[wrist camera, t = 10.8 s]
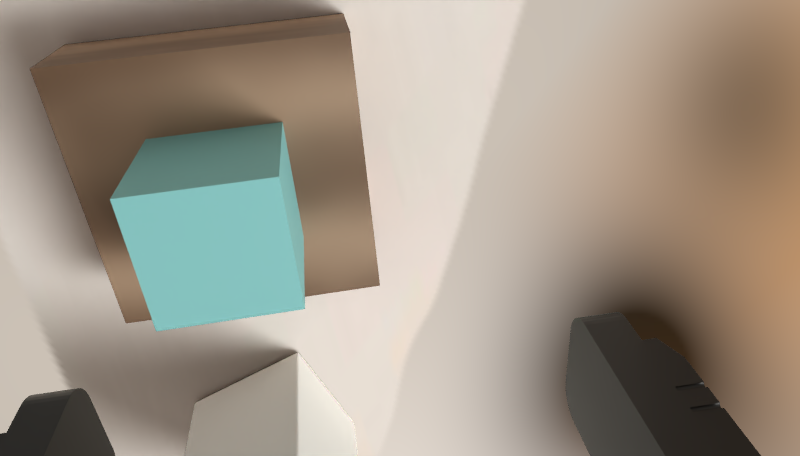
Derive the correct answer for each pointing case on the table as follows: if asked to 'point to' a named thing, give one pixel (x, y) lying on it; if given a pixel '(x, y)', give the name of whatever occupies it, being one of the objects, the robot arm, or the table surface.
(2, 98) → the table surface
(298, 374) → the milk carton
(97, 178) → the walnut base
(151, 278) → the teal cube
